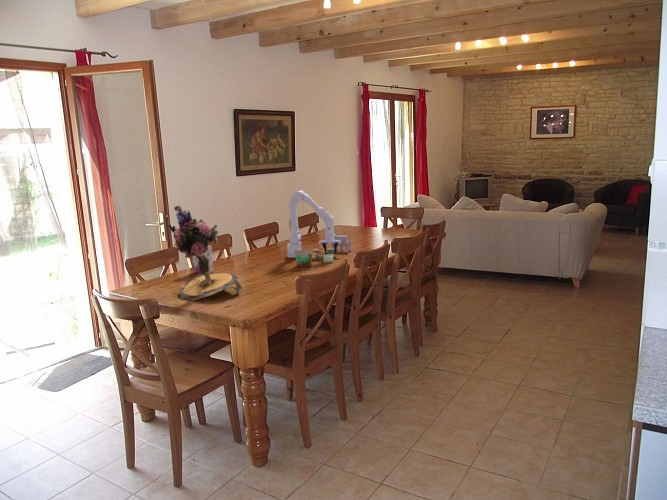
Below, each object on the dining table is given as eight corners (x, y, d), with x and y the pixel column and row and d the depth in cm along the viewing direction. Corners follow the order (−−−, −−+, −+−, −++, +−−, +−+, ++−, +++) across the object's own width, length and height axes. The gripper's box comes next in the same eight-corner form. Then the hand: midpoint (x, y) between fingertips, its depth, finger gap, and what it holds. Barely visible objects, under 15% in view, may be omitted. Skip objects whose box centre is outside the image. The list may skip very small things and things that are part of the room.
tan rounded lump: (311, 260, 346) (311, 251, 345) (312, 257, 354) (312, 248, 353) (324, 259, 346) (323, 250, 345) (324, 257, 354) (324, 248, 353)
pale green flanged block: (323, 262, 338) (323, 257, 338) (324, 259, 346) (323, 254, 345) (333, 262, 338) (333, 256, 337) (333, 259, 346) (333, 254, 345)
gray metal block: (327, 257, 354) (327, 249, 353) (327, 255, 358) (327, 248, 357) (333, 256, 354) (333, 249, 353) (333, 255, 358) (333, 248, 357)
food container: (291, 266, 330) (290, 251, 328) (296, 264, 335) (295, 249, 333) (308, 268, 324) (307, 252, 322) (313, 266, 330) (312, 250, 327)
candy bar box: (193, 273, 322) (190, 246, 319) (197, 271, 327) (195, 245, 324) (210, 273, 319) (207, 247, 316) (214, 271, 324) (211, 245, 321)
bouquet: (142, 293, 269) (158, 205, 273) (216, 301, 301) (229, 223, 305) (175, 300, 246) (192, 204, 250) (252, 309, 277) (266, 224, 281)
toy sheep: (320, 251, 370) (320, 232, 368) (325, 249, 380) (325, 230, 378) (347, 253, 364) (347, 233, 362) (352, 250, 374) (352, 231, 372)
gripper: (318, 235, 349) (319, 255, 352) (340, 234, 349) (341, 255, 351) (319, 233, 356) (319, 253, 359) (340, 232, 356) (341, 252, 358)
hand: (330, 254), depth 355 cm, fingers open, 5 cm apart
